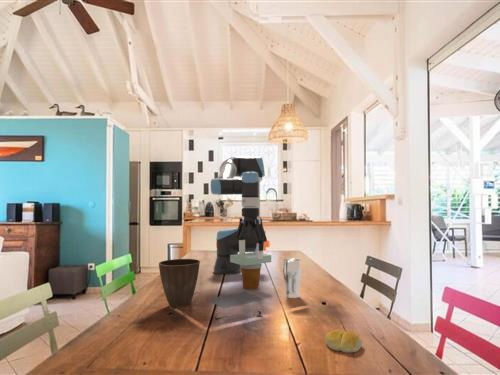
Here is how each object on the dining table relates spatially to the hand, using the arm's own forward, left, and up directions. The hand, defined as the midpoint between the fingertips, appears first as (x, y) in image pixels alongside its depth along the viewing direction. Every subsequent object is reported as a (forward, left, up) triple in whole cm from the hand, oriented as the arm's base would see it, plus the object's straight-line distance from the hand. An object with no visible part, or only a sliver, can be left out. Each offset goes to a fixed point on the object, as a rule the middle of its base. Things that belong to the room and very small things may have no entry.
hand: (250, 256), depth 149 cm
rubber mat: (+11, -15, -14) cm, 23 cm away
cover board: (0, 0, -2) cm, 2 cm away
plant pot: (+3, -34, -14) cm, 37 cm away
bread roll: (+62, -13, -15) cm, 65 cm away
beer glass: (+20, +6, -14) cm, 25 cm away
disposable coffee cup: (0, 0, -14) cm, 14 cm away
